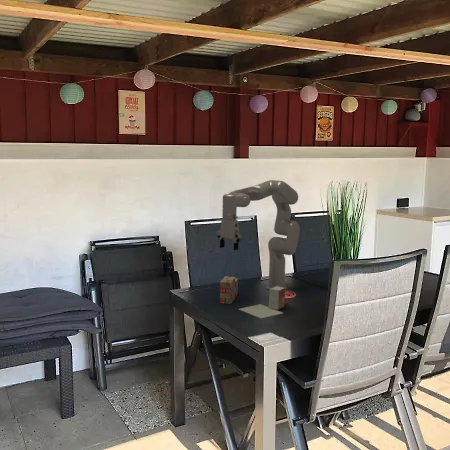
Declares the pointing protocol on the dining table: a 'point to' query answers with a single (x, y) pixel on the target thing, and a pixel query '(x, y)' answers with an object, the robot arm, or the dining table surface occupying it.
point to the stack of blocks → (228, 289)
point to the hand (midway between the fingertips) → (228, 248)
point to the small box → (276, 297)
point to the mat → (260, 311)
